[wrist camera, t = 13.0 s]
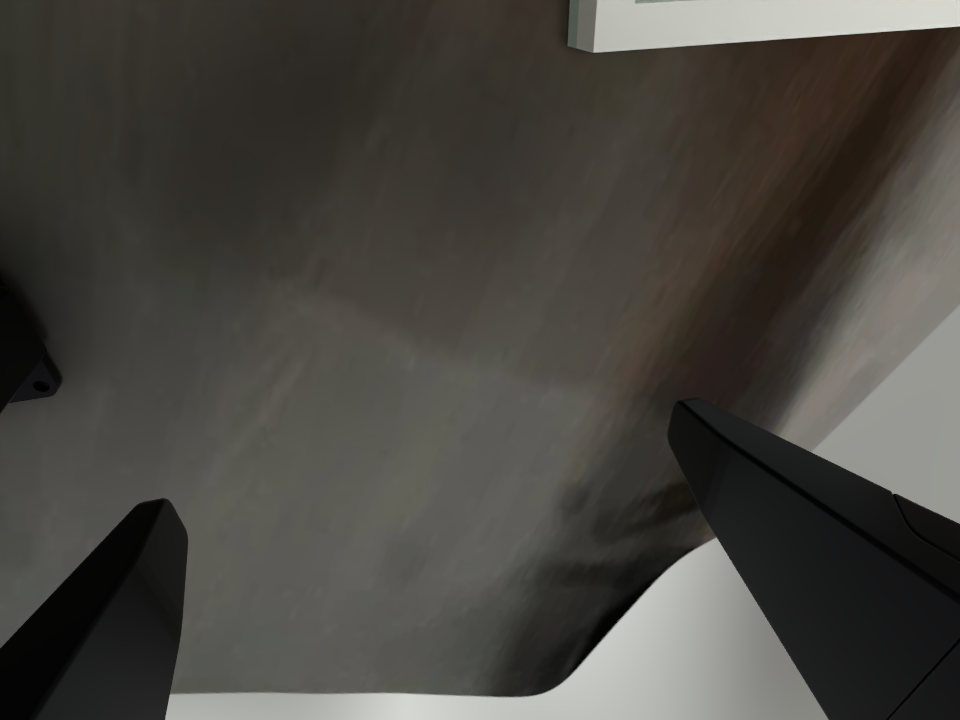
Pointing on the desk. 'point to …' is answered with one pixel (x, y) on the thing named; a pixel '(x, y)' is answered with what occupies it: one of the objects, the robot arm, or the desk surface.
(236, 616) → the desk surface
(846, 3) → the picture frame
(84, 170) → the desk surface
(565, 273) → the desk surface
